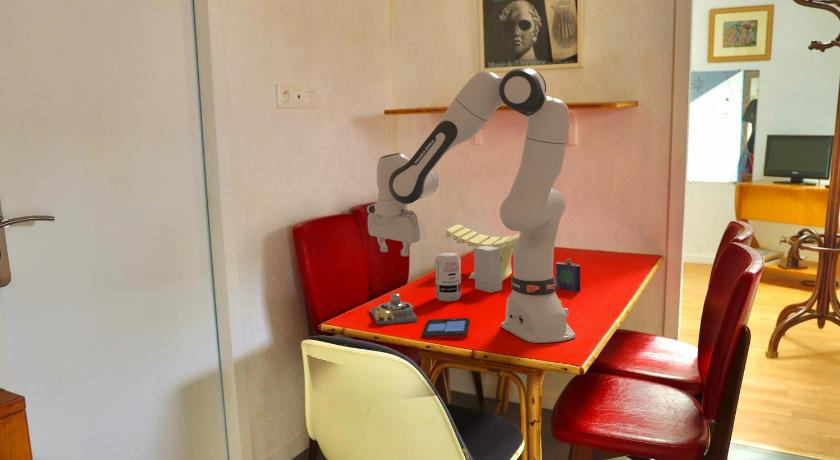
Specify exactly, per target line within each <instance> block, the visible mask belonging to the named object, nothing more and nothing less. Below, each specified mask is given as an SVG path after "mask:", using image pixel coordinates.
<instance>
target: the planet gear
mask: <svg viewBox="0 0 840 460" xmlns="http://www.w3.org/2000/svg"><path fill="white" fill-rule="evenodd" d="M389 302H390V303H389ZM403 302H404V301H403V300H401V294H400V293H397V292H396V293H391V294H390V301H387V302H384V303H385V305H384V309H386V310H389V309H391V310H392V311H396V310H404V309H407V303H408V302H407V303H403Z"/></svg>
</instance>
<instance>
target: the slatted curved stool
mask: <svg viewBox="0 0 840 460" xmlns="http://www.w3.org/2000/svg"><path fill="white" fill-rule="evenodd" d="M445 233H446V234H445V237H446V238H453V239H452V240H453V241H456V244H457V245H458V244H467V247H480V246H485V245H486V246H491V247H497V248H500V253H501V275H502V282H503V281H504V280H506V279H507V278H508V277H509V276H510V275H511V274H512V272H513V270H512V258H513V257H512V256H513V251H514V247H515V245H516V243H517V241H518V239H519V236H520V233H518V234H515V235H510V236H503V237H502V236H491V235H488V234H487V235H486V234H482V233H479V232H477V231H472V229H470V228H467V227H465V226H464V225H462V224H458V223H457V224H454V225H453V226H451V227H449V228H447V229H445ZM468 279H472V280H473V279H474V280H475V270H473V271H472V272H471V273H470V274H469V276H468Z"/></svg>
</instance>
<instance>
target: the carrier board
mask: <svg viewBox="0 0 840 460" xmlns="http://www.w3.org/2000/svg"><path fill="white" fill-rule="evenodd" d="M388 302H389V303H390V302H391V301H388ZM385 303H386V302H384V303H381V304H378V305H377V306H376V307H370V308H369V310H370V314H371V315H372V317H373V320H374V321H375V323H376V325H377V326H385V324H386V325H395V324H396V323H397V324H407V323H417V322H419V318H418V316H417V314H415V312H414V306H413V305H412V304H411V302H406V301H403V303H407V309H404V310H396V311H392V310H391V309H389V310H386V309H384V305H385Z"/></svg>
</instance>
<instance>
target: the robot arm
mask: <svg viewBox="0 0 840 460" xmlns="http://www.w3.org/2000/svg"><path fill="white" fill-rule="evenodd" d="M546 92H547V83H546V80H545V78H544V77H543V75H542V74H541V73H540V72H538V71H537V70H535V69H533V68H530V67H518V68H515V69H512V70H510V71H508V72H507V73H505V75H504V76H503V77H501V76H499V75H497V74H496V73H494V72H492V71H489V70H480V71H478V72H476V73H475V74H474V75H473V76H472V77H471V78H470V79H469V80H468V81H467V82H466V83H465V85H463V87H462V88H461V89H460V91H459V92H458V93H457V94H456V95H455V97H454V98H453V100H452V101H451V103H450V105H448V107H447V109H446V111H444V114H443V115H442V117H441V118H440V120H439V122H438V123H437V124H436V126H435V127H434V129H433V130H432V132H431V133H430V134H429V135H428V137H427V138H426V139H425V141H424V142H423V143H422V144H421V145H420V147H419V148H418V150H416V152H415V153H414V154H413V155H412V157H411V158H409V157H407V156H406V155H405V154H404V153H401V152H397V153H391V154H386V155H383V156H381V157H379V158H378V161H377V165H376V166H377V167H376V186H377V190H378V195H377V202H375V203H372V204H370V205H368V206H367V207H366V211H367V213H368V216H367V230H368V231H367V232H368V234H369V235H370V236H371V237H376V238H377V243H378V245H379V247H380V248H379V249H380V252H382V253H388V251H389V247H388V245H387V244H386V240H387V239H388V240H393V241H398V242H402V246H403V247H402V249H401V250H400V256H401V257H408V256H409V250H410V248H411V245H412V243H417V242H419V241H420V239H421V231H420V230H421V229H420V224H419V220H418V215H417V214H416V213H415V212H414V210H408V205H409V204H413V203H414V202H416V201H418V200H421V199H424V198H426V197H429V196H430V195H432V194H433V193H434V192H435V191H437V188H438V186H439V175H438V173H437V171H436V170H435V169H434V168H435V166H436V165H437V164H438V163H439V162H440V160H441V159H442V158H443V157H444V155H445V154H447V152H449V151H450V150H451V149H452V148H454V147H456V146H457V145H461V144H462V143H464V142H466V141H469V140H471V139H472V138H474V137H475V136H476V134H477V133H479V132H480V131H481V130H482V129H483V128H484V126H485V125H486V124H487V122H488V121H489V120H490V118H492V115H494V113H495V112H496V110H497V109H498V108H500V107H501V106H503V105H505V106H506V107H507V108H509V109H511V110H512V111H515V112H517V113H519V114H521V115H523V116H524V117H526V119H527V126H526V131H525V132H526V133H525V139H524V144H523V150H522V154H521V155H522V156H521V160H520V161H521V162H520V165H519V168H518V171H517V174H516V176H515V178H514V181H513V183H512V186H511V188H510V191H509V193H508V194H507V196H506V197H505V199H504V200H503V201H502V203H501V205H500V208H499V218H500V221H501V222H502V224H503V226H504V227H505V228H507V229H508V230H510V231H512V232H519V234H520V236H519V239H518V241H517V243H516V245H515V247H514V251H513V254H512V256H513V257H512V260H513V270H512V272H513V275H511V276H512V277H511V281H510V282H511V289H512V291H511V293H510V294H509V295H508V297H506V298H507V299H506V305H505V306H506V307H505V320H504V321H502V322H501V324H500V327H501V328H502V329H504V330H506V331H507V332H510V333H511V334H513V335H515V336H517V337H518V338H520V339H522V340H524V341H526V342H529V343H555V342H562V341H567V340H569V341H570V340H572V339H574V338H576V333H575V332H574V330H573V329H572V328H571V327H570V325H569V324H568V323H567V317H569V309H568V308H567V307H563V305H562V304H563V302H562V300H560V298H559V297H558V295H557V293H556V291H557V288H556V287H555V285H556V284H555V276H554V250H555V243H556V239H557V235H558V231H559V226H560V222H561V218H562V217H563V216H564V215H563V214H565V211H566V207H567V206H566V205H567V204H566V200H565V196H564V195H563V193H561V192H560V191H559V190H558V189H555V188H553V187H554V184H555V182H556V180H557V179H558V177H559V175H560V174H561V172H562V170H563V169H562V168H563V163H564V158H565V152H566V148H567V142H568V135H569V127H570V126H569V123H570V122H569V121H570V109H569V107H568V105H567V104H566V103H565V102H564V101H563V100H561V99H558V98H555V97H551V96H549V95H547V93H546Z"/></svg>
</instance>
